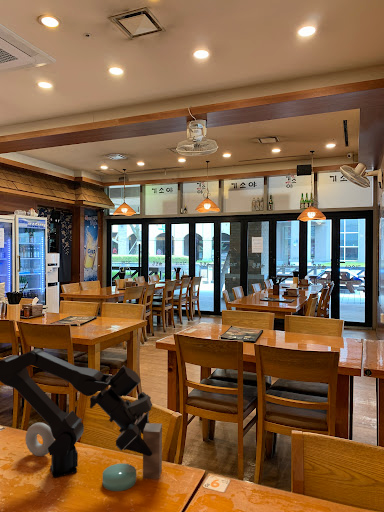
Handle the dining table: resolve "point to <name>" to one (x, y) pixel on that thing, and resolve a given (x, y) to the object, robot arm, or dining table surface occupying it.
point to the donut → (33, 442)
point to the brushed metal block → (154, 442)
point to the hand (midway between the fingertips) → (153, 446)
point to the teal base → (119, 477)
